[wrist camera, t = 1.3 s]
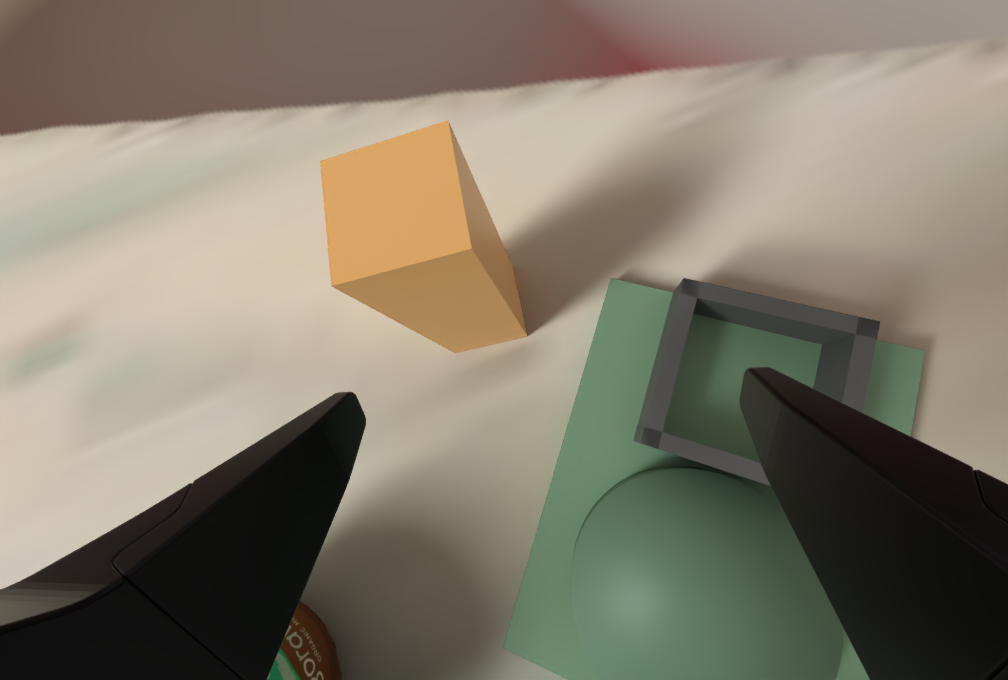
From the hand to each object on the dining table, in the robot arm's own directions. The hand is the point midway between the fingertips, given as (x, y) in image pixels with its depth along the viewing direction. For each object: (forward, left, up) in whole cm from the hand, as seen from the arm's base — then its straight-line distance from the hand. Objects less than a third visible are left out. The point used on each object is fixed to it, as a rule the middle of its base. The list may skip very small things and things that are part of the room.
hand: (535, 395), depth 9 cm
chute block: (+4, +7, -14) cm, 16 cm away
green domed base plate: (-1, -8, -14) cm, 16 cm away
